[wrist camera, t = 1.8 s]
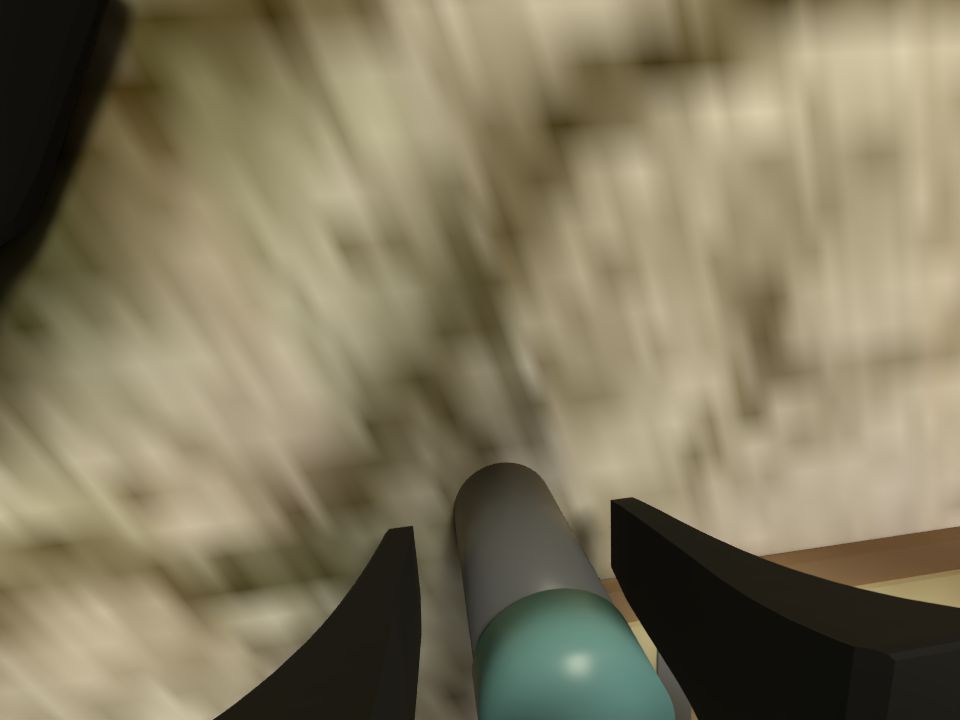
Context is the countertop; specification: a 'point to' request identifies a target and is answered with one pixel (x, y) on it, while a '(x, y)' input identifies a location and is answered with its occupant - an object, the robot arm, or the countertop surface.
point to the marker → (543, 612)
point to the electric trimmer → (38, 96)
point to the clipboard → (843, 582)
